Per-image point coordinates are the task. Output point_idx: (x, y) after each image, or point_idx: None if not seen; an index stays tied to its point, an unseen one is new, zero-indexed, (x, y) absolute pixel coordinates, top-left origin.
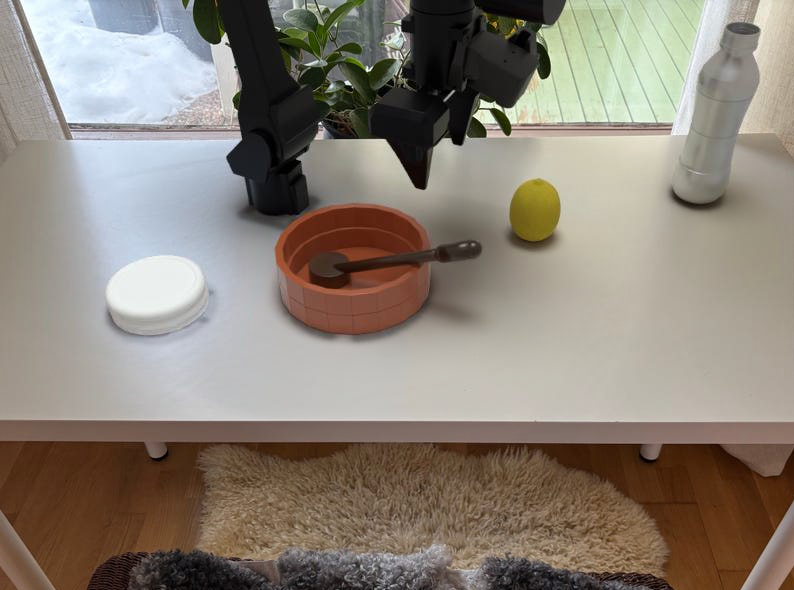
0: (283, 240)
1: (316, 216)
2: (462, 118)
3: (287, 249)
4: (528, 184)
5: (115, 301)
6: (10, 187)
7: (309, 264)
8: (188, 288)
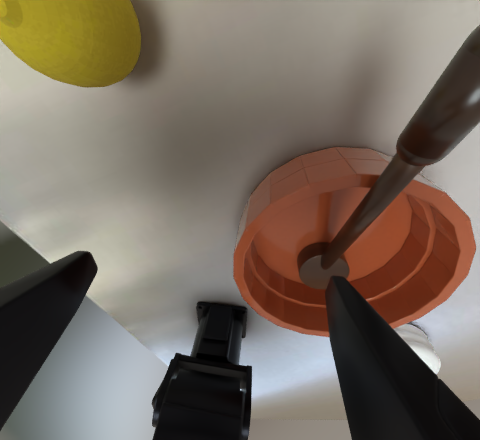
0: None
1: (282, 318)
2: (13, 325)
3: None
4: (34, 39)
5: None
6: (271, 415)
7: None
8: None
